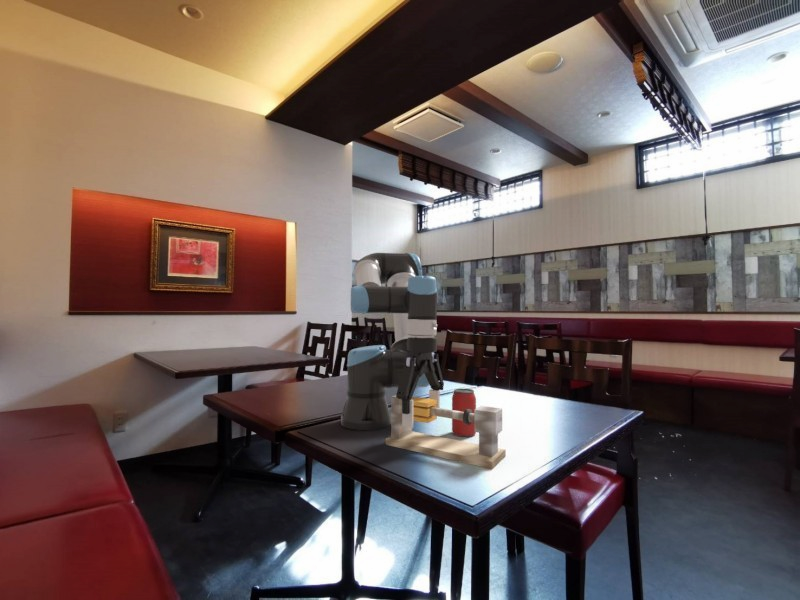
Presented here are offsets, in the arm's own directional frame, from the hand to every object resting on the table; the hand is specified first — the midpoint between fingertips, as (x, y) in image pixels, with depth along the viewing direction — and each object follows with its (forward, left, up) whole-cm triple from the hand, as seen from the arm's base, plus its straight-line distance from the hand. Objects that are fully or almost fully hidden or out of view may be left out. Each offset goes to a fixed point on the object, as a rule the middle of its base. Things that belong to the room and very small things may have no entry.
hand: (421, 420), depth 97 cm
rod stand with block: (+6, 0, -6) cm, 9 cm away
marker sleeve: (0, 0, 0) cm, 0 cm away
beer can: (+5, +15, -7) cm, 17 cm away
